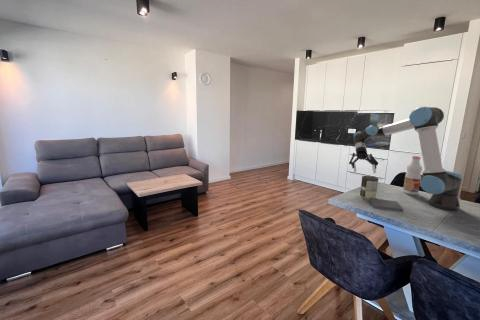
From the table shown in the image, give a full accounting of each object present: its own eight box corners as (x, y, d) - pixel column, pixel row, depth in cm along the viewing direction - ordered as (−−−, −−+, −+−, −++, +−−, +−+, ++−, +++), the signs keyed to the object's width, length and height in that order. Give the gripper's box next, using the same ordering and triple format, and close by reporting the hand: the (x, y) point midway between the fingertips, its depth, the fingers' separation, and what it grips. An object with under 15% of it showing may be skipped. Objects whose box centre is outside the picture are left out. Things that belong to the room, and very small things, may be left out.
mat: (396, 203, 154) (396, 201, 154) (402, 211, 141) (403, 209, 141) (369, 200, 159) (369, 197, 159) (373, 207, 146) (373, 205, 146)
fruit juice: (404, 190, 182) (409, 155, 176) (418, 193, 175) (425, 156, 170) (401, 192, 175) (407, 156, 170) (416, 196, 169) (423, 158, 163)
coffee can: (357, 196, 166) (359, 177, 163) (363, 193, 173) (365, 175, 170) (372, 200, 158) (375, 180, 156) (378, 197, 165) (381, 178, 162)
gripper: (376, 152, 185) (381, 175, 174) (343, 151, 189) (345, 173, 178) (379, 147, 179) (385, 170, 168) (345, 145, 183) (348, 168, 172)
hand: (365, 172), depth 173 cm, fingers open, 13 cm apart
